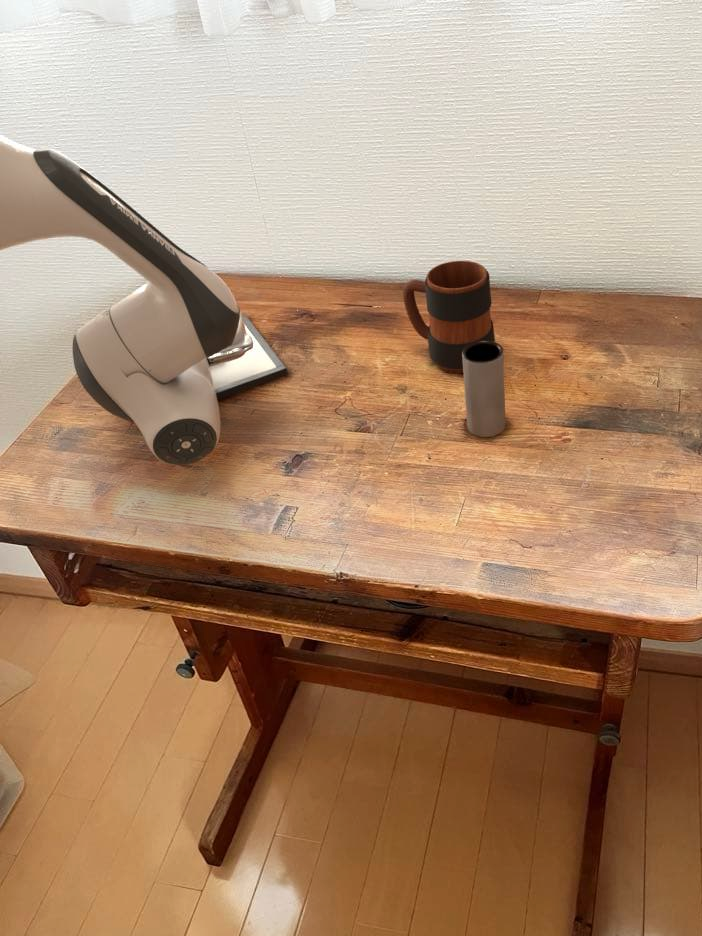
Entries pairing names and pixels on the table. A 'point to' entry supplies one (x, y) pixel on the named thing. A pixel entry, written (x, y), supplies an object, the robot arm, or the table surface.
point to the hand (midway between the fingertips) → (164, 319)
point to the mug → (452, 310)
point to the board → (247, 366)
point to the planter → (484, 388)
